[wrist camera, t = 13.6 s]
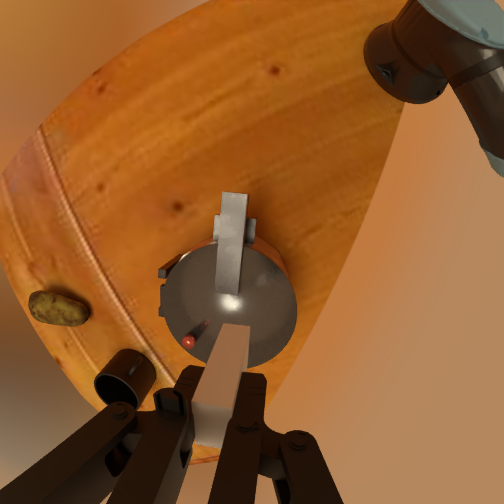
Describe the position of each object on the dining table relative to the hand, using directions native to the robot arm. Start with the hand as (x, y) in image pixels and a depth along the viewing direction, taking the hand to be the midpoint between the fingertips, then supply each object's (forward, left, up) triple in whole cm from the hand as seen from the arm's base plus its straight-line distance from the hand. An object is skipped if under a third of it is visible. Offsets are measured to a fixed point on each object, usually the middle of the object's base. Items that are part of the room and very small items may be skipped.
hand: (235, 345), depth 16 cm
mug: (+21, +26, -29) cm, 44 cm away
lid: (+3, +3, -18) cm, 19 cm away
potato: (+37, +16, -29) cm, 49 cm away
